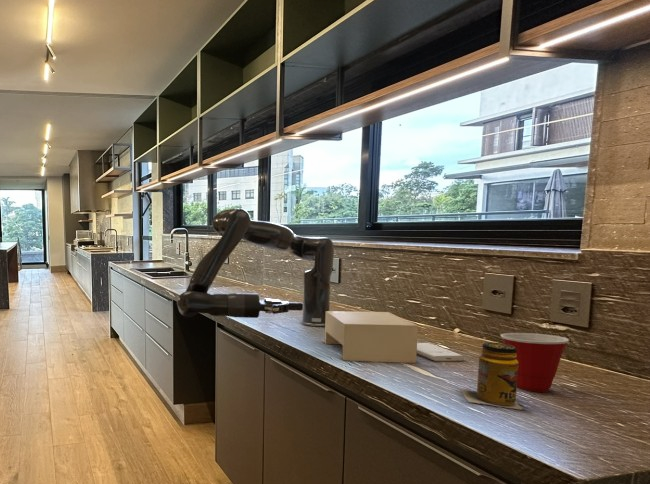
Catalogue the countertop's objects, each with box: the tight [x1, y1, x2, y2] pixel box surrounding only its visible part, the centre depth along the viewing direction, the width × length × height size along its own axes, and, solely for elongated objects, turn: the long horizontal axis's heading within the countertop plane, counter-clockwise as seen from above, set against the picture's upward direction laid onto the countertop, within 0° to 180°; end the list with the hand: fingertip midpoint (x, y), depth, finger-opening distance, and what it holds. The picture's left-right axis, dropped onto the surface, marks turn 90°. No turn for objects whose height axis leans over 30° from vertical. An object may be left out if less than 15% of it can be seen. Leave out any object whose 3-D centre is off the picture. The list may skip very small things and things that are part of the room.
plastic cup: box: [500, 332, 570, 393], centre depth 92 cm, size 11×11×12 cm
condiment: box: [459, 341, 523, 410], centre depth 86 cm, size 7×8×12 cm
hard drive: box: [417, 342, 465, 362], centre depth 118 cm, size 2×8×12 cm
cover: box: [324, 310, 419, 364], centre depth 121 cm, size 18×18×10 cm
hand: (302, 306), depth 124 cm, fingers closed
